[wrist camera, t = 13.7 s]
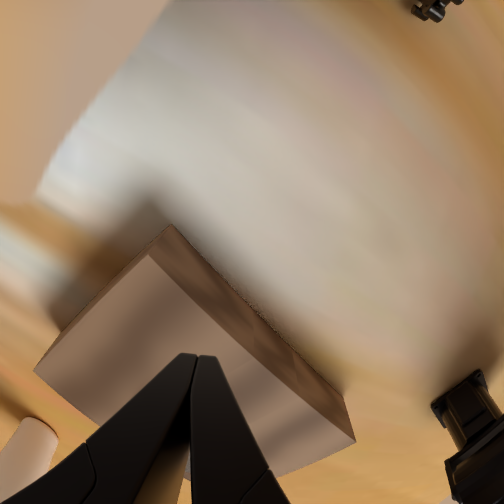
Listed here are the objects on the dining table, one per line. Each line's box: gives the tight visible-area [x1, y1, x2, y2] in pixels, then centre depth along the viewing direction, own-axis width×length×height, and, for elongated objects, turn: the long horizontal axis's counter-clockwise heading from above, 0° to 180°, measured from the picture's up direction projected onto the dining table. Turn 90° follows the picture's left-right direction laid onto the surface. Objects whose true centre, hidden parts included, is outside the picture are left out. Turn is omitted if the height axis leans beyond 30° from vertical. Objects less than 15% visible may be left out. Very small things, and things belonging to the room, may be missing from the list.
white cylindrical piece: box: [0, 417, 58, 503], centre depth 21 cm, size 7×7×15 cm
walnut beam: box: [33, 224, 356, 481], centre depth 21 cm, size 20×14×5 cm
